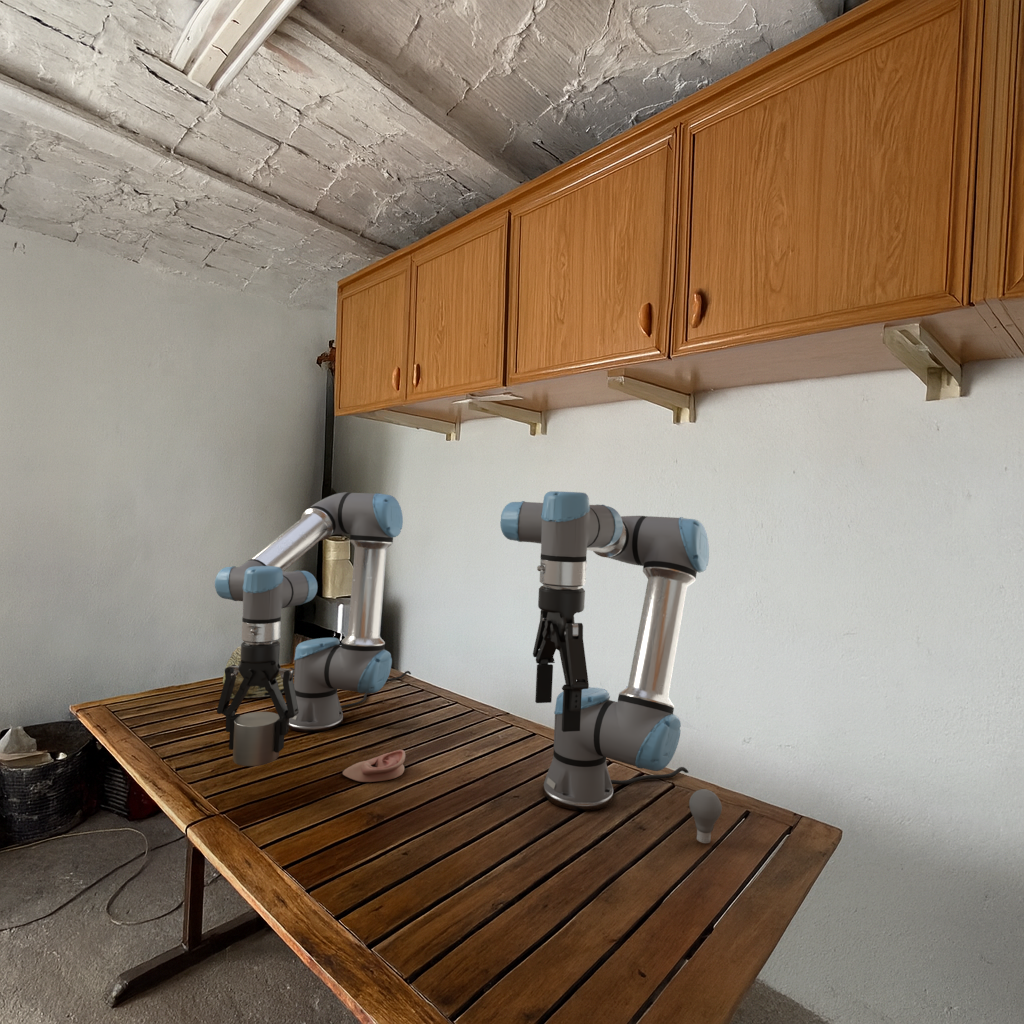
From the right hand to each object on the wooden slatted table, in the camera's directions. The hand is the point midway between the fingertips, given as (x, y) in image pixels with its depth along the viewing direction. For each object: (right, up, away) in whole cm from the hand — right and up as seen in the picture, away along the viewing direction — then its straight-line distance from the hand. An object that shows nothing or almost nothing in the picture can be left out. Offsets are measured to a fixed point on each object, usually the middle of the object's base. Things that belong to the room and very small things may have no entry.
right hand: (556, 715), depth 104 cm
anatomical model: (-39, -27, +43) cm, 64 cm away
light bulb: (+30, -31, +19) cm, 46 cm away
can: (-61, -18, +29) cm, 69 cm away
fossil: (-88, -24, +95) cm, 131 cm away
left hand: (-61, -16, +29) cm, 69 cm away
